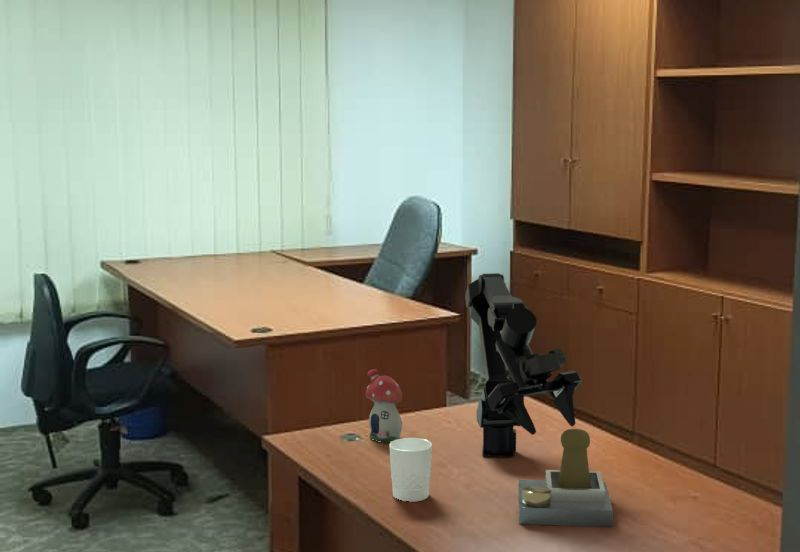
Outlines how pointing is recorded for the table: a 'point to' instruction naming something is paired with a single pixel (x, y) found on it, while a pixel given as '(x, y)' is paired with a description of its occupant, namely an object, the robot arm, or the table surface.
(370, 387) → the decorative ornament
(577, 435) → the olive knobbed post
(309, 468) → the table surface
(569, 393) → the robot arm
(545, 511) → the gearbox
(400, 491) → the white cup
